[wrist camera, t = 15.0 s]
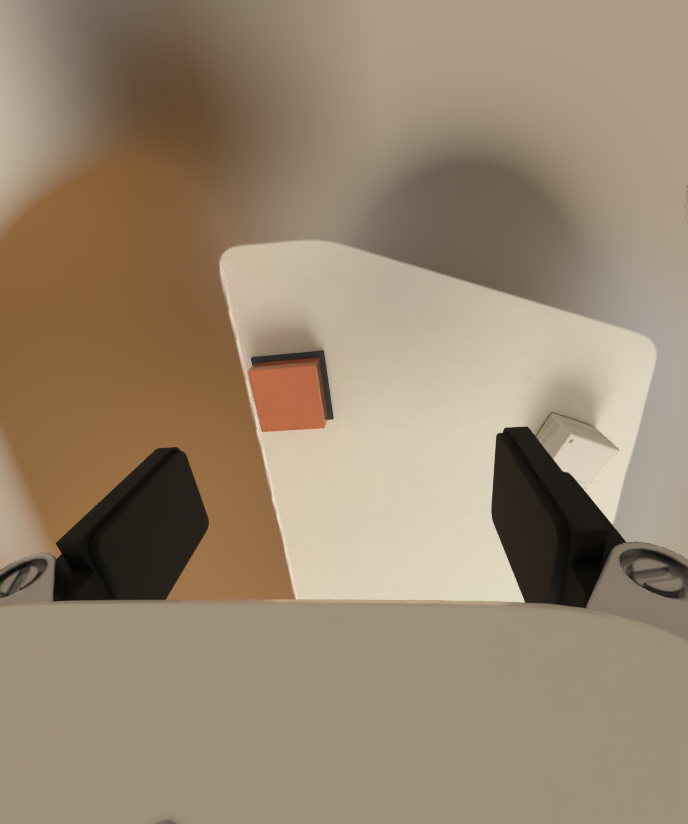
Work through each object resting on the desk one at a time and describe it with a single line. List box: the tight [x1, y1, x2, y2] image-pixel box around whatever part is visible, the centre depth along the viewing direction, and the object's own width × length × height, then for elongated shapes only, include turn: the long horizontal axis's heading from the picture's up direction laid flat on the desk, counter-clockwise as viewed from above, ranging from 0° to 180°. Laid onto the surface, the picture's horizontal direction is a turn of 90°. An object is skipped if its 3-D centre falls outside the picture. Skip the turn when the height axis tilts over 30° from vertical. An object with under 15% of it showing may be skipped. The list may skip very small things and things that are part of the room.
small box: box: [536, 413, 619, 489], centre depth 40 cm, size 6×6×5 cm
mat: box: [251, 351, 333, 420], centre depth 43 cm, size 8×8×1 cm
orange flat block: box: [248, 357, 328, 432], centre depth 41 cm, size 7×7×3 cm
